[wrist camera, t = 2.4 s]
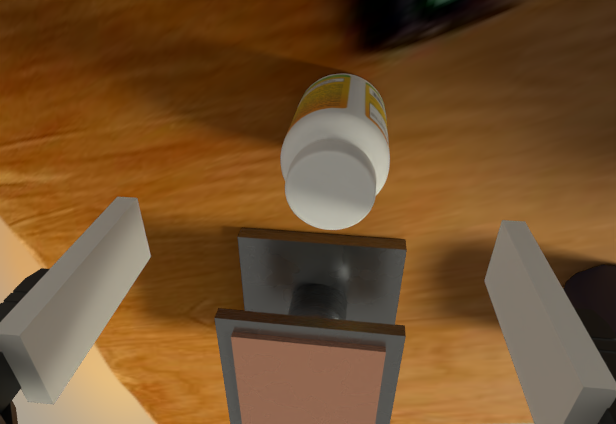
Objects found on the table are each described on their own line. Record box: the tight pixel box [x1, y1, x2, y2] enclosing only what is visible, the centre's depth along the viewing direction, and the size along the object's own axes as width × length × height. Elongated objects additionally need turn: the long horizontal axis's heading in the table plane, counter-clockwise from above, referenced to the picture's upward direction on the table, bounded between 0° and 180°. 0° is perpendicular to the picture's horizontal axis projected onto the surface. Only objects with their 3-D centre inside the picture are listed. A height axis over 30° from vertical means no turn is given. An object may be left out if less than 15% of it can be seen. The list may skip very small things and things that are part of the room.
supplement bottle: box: [281, 73, 390, 230], centre depth 23 cm, size 5×5×10 cm
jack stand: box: [215, 228, 407, 424], centre depth 31 cm, size 12×12×9 cm
